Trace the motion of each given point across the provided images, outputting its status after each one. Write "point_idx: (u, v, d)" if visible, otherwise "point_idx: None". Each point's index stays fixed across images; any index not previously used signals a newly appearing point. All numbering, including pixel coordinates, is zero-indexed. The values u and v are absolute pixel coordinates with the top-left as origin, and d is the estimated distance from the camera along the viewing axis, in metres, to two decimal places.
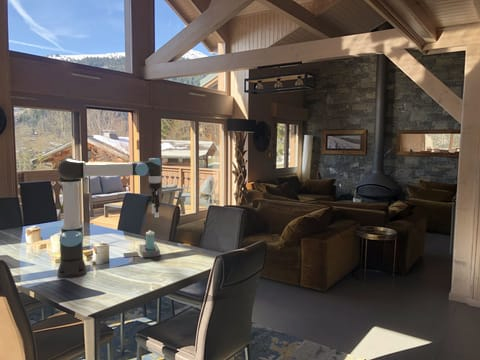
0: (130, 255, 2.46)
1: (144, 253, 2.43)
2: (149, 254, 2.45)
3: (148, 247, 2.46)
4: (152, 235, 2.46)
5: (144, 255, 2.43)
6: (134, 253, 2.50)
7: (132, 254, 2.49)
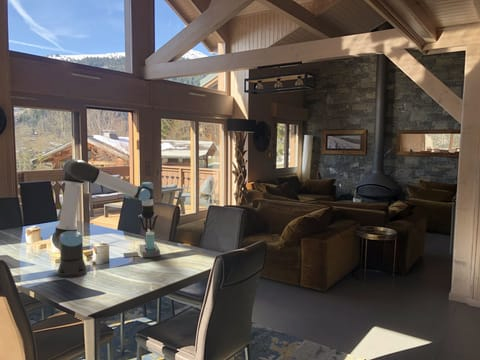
0: (130, 255, 2.46)
1: (144, 253, 2.43)
2: (149, 254, 2.45)
3: (148, 247, 2.46)
4: (152, 235, 2.46)
5: (144, 255, 2.43)
6: (134, 253, 2.50)
7: (132, 254, 2.49)
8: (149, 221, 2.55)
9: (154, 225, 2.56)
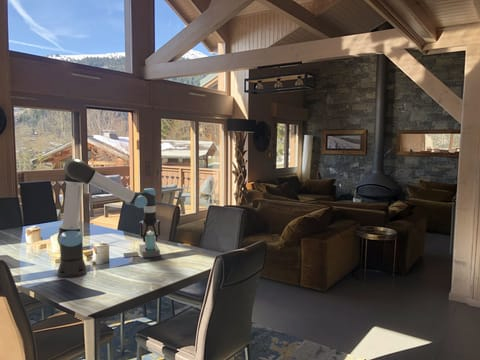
0: (130, 255, 2.46)
1: (144, 253, 2.43)
2: (149, 254, 2.45)
3: (148, 247, 2.46)
4: (152, 235, 2.46)
5: (144, 255, 2.43)
6: (134, 253, 2.50)
7: (132, 254, 2.49)
8: (153, 228, 2.47)
9: (159, 231, 2.49)
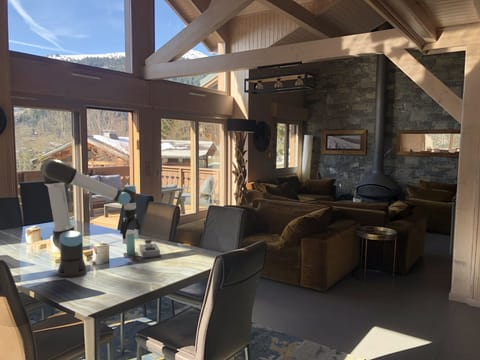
0: (130, 255, 2.46)
1: (144, 253, 2.43)
2: (149, 254, 2.45)
3: (132, 246, 2.46)
4: None
5: (144, 255, 2.43)
6: None
7: None
8: (135, 223, 2.50)
9: (139, 224, 2.55)
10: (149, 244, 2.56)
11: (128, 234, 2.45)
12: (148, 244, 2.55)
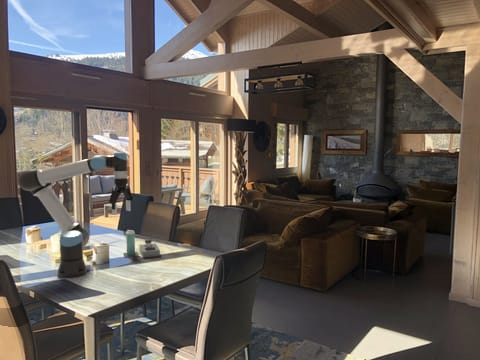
0: None
1: (144, 253, 2.43)
2: (149, 254, 2.45)
3: (132, 246, 2.46)
4: None
5: (144, 255, 2.43)
6: None
7: None
8: (126, 194, 2.30)
9: (131, 195, 2.36)
10: (149, 244, 2.56)
11: (128, 234, 2.45)
12: (148, 244, 2.55)
